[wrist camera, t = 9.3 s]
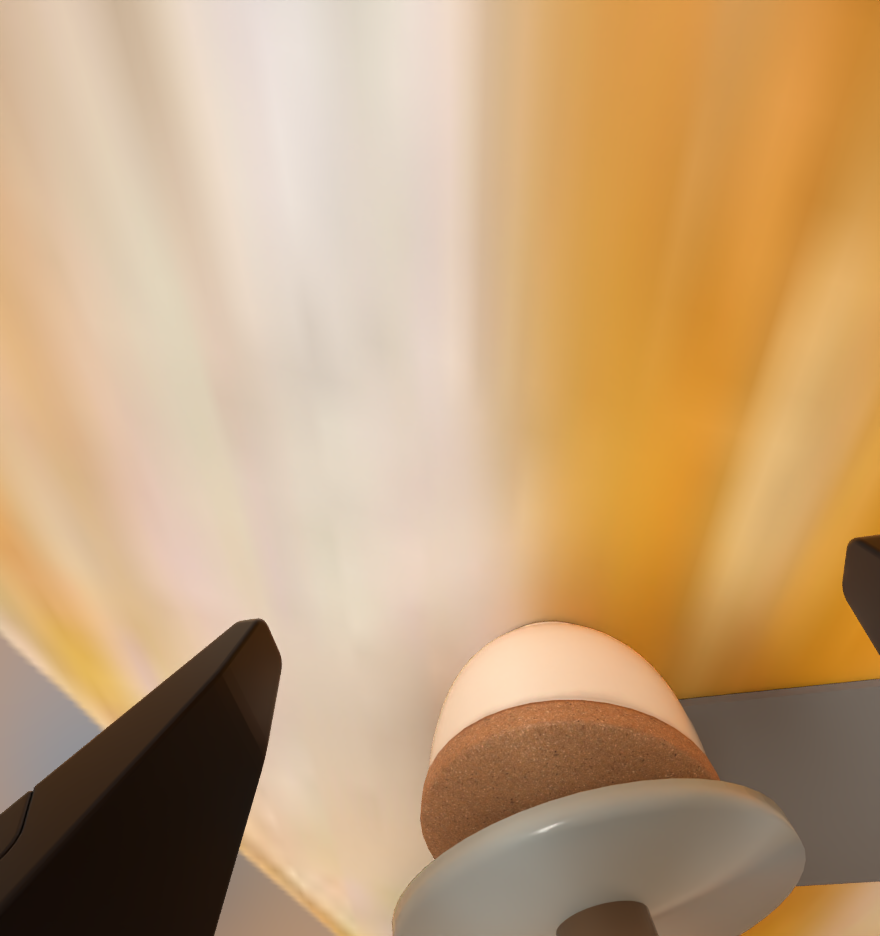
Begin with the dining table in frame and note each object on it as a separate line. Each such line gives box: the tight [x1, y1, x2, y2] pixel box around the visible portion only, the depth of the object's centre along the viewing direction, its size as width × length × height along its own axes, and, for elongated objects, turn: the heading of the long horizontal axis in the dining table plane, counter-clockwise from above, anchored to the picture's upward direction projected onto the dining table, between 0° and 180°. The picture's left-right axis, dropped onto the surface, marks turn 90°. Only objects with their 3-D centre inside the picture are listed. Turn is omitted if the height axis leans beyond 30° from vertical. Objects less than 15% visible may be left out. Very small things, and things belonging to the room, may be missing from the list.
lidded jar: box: [420, 621, 720, 859], centre depth 22 cm, size 11×11×9 cm
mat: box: [679, 679, 880, 886], centre depth 30 cm, size 16×16×1 cm
